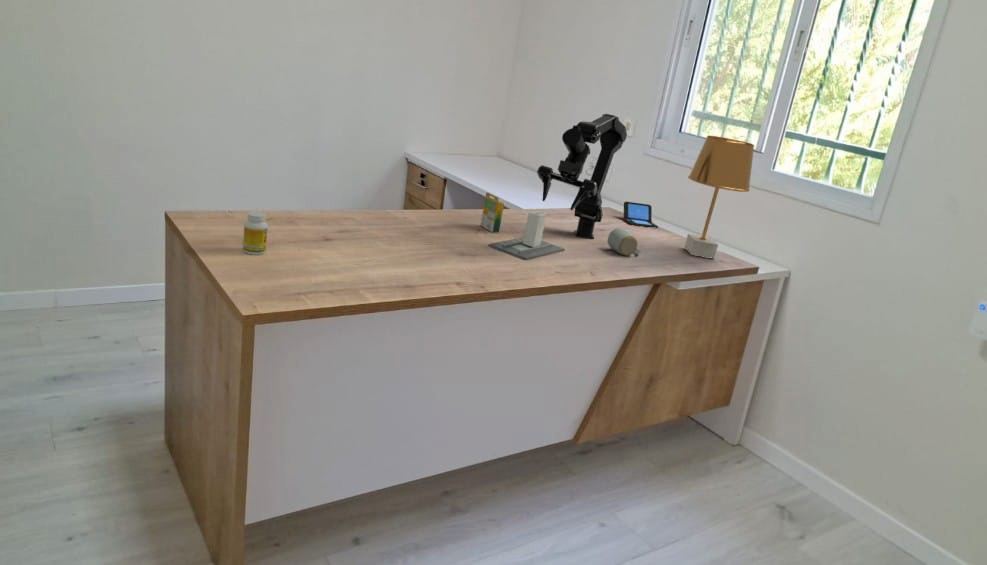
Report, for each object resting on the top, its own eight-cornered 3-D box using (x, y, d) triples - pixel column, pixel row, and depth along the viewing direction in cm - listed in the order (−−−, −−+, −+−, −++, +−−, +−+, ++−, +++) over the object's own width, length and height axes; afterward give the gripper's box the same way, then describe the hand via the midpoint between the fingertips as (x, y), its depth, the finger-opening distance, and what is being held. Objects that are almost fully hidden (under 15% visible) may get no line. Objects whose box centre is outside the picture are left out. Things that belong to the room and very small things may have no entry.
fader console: (528, 237, 227) (529, 234, 226) (564, 250, 220) (565, 246, 219) (488, 245, 209) (489, 242, 209) (525, 260, 202) (526, 256, 202)
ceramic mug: (617, 256, 224) (623, 233, 222) (604, 248, 231) (610, 226, 229) (644, 258, 229) (650, 236, 226) (631, 250, 236) (636, 228, 233)
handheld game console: (630, 226, 272) (634, 207, 270) (619, 218, 282) (623, 201, 280) (658, 229, 275) (663, 211, 273) (647, 222, 285) (651, 204, 283)
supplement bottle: (241, 247, 170) (243, 210, 167) (263, 248, 172) (266, 211, 169) (243, 255, 165) (246, 216, 162) (267, 255, 168) (269, 217, 165)
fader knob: (529, 241, 218) (535, 211, 215) (540, 245, 216) (546, 214, 213) (522, 243, 215) (528, 212, 212) (533, 247, 213) (539, 215, 210)
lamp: (736, 267, 237) (771, 150, 224) (677, 257, 237) (709, 138, 224) (718, 250, 257) (750, 141, 244) (663, 241, 256) (692, 131, 243)
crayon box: (499, 232, 227) (505, 198, 223) (492, 232, 225) (498, 197, 222) (487, 225, 233) (493, 192, 229) (480, 225, 231) (485, 191, 227)
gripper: (544, 140, 210) (524, 186, 207) (602, 158, 204) (583, 205, 202) (549, 155, 220) (530, 199, 218) (604, 172, 215) (586, 218, 213)
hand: (557, 205), depth 212 cm, fingers open, 9 cm apart
